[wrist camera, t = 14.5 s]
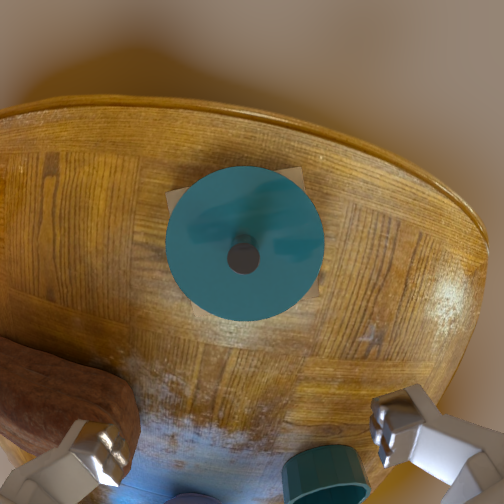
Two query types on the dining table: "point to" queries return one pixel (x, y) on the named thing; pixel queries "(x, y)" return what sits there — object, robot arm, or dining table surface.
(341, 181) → the dining table surface
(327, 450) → the pot
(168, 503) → the bowl
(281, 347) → the dining table surface
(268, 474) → the dining table surface
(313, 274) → the pot lid
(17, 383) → the bread
